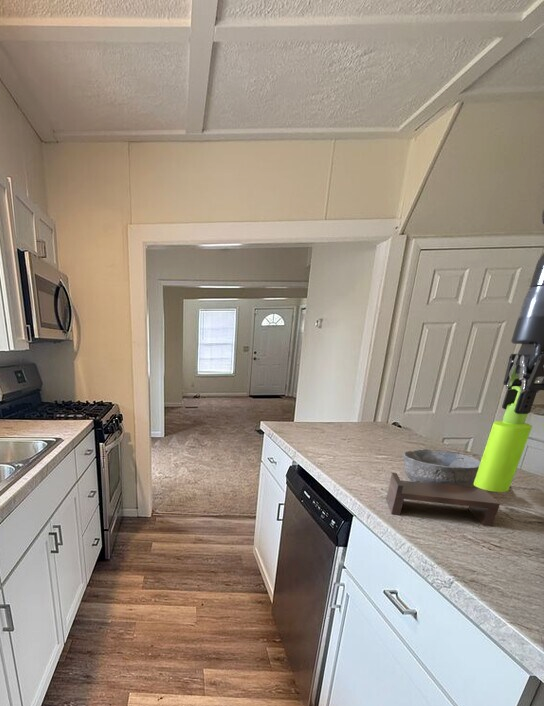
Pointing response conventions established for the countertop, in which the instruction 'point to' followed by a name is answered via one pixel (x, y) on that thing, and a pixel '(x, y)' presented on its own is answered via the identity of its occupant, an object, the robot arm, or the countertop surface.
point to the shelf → (443, 497)
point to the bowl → (440, 467)
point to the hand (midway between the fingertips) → (514, 410)
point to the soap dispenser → (503, 450)
